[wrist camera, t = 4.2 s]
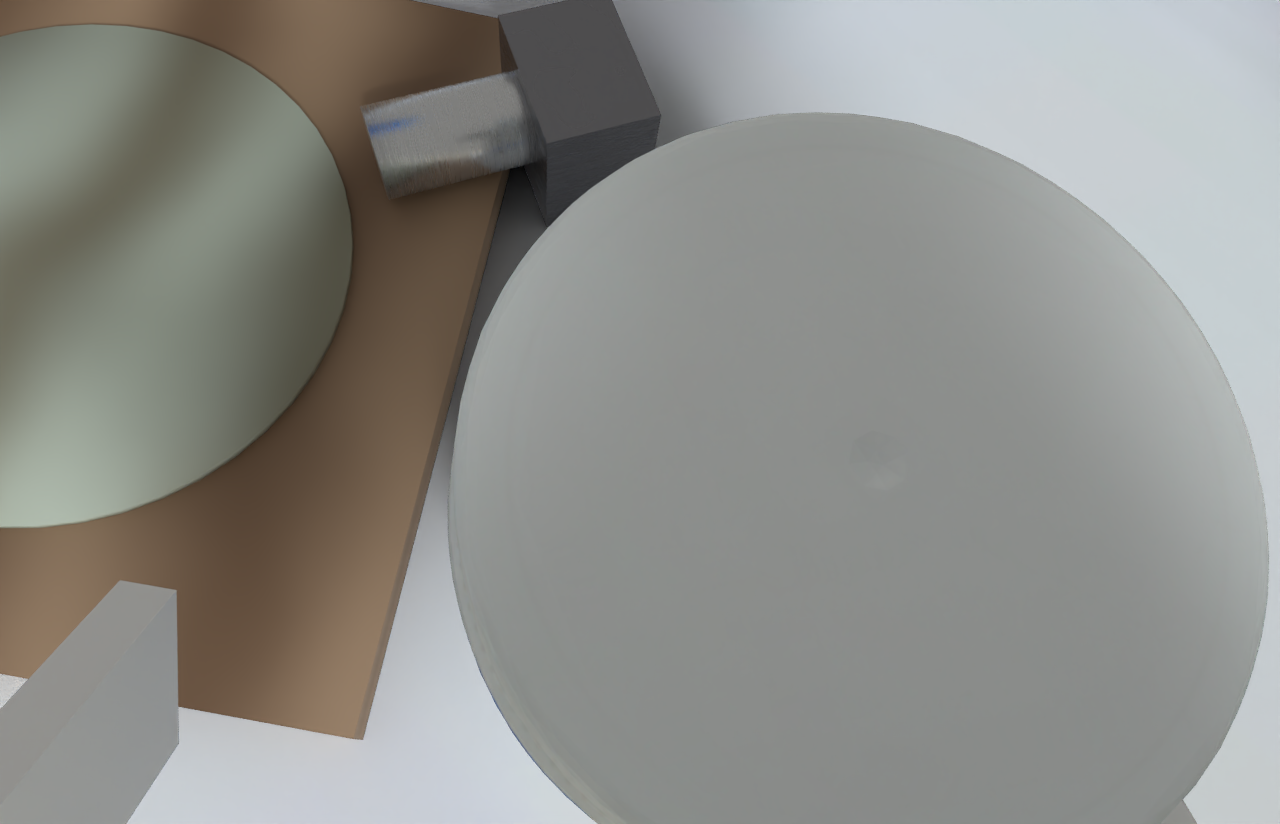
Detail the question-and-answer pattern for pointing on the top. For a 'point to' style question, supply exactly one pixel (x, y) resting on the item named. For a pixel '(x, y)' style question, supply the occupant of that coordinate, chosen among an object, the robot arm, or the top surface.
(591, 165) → the shaft
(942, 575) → the supplement tub
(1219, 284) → the top surface
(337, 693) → the board
